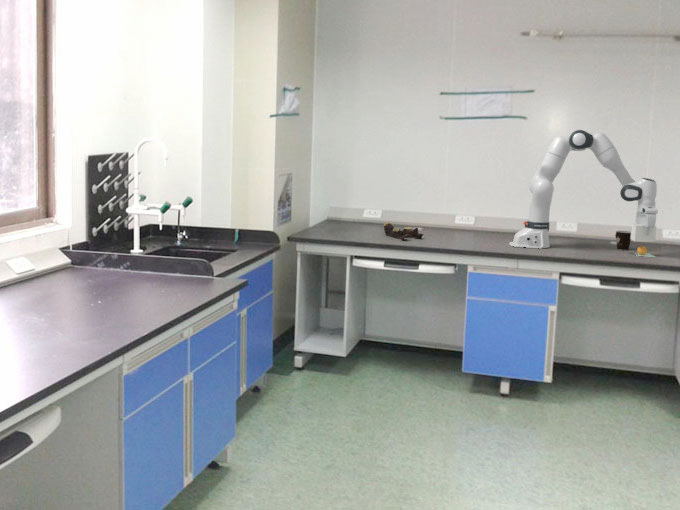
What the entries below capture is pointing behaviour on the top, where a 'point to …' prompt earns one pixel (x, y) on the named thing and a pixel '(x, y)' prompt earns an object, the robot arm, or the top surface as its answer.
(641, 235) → the white rectangular block
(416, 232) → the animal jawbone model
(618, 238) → the coffee mug
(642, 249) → the ball
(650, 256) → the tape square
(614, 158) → the robot arm
